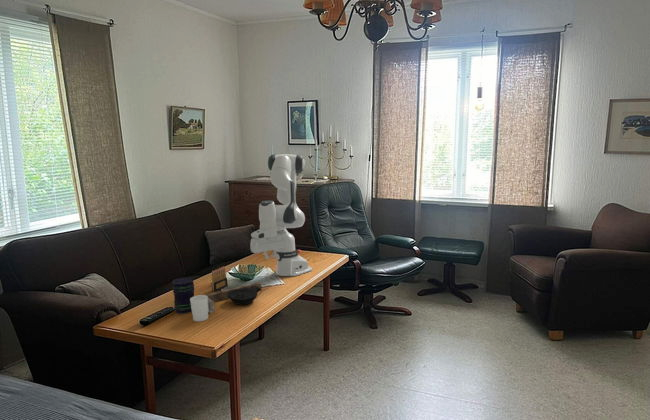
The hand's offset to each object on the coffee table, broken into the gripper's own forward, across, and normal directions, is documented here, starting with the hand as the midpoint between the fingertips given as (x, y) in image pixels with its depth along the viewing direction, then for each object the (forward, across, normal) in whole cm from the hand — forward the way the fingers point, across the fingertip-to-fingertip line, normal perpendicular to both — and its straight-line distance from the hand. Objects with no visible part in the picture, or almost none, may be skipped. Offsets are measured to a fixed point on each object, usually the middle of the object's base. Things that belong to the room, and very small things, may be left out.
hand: (270, 258), depth 230 cm
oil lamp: (+20, +15, 0) cm, 25 cm away
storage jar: (+19, +44, -8) cm, 48 cm away
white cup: (+19, +42, +8) cm, 46 cm away
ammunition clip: (+19, +18, -27) cm, 38 cm away
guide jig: (+19, +19, -3) cm, 27 cm away
